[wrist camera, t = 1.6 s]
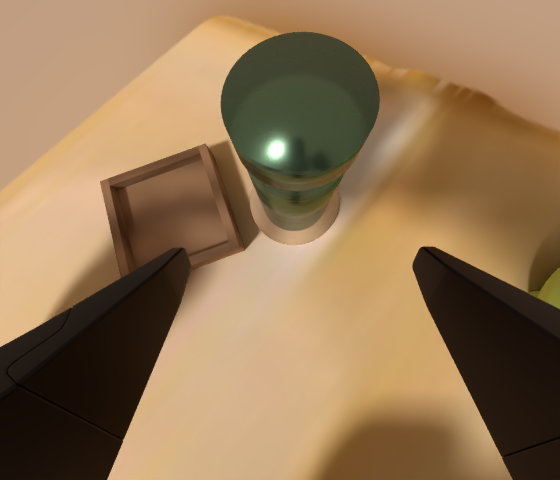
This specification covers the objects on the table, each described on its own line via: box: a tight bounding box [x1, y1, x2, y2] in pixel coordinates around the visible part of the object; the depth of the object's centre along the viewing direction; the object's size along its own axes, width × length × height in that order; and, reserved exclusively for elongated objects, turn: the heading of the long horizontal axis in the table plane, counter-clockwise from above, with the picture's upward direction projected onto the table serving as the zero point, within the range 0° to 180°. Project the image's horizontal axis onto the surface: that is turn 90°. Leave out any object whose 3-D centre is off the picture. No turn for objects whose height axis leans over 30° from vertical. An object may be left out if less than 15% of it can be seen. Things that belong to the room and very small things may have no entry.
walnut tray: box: [100, 144, 245, 278], centre depth 21 cm, size 11×11×2 cm
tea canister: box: [221, 32, 380, 231], centre depth 15 cm, size 7×7×12 cm
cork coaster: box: [250, 185, 339, 245], centre depth 21 cm, size 9×9×1 cm
